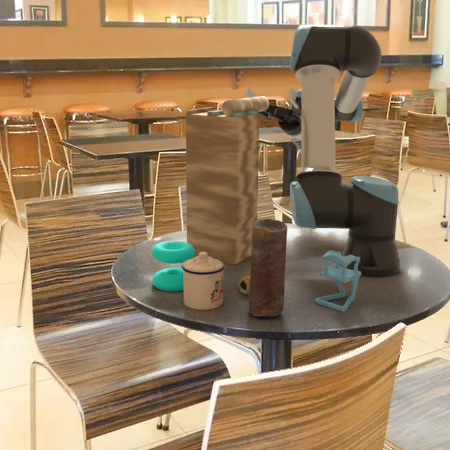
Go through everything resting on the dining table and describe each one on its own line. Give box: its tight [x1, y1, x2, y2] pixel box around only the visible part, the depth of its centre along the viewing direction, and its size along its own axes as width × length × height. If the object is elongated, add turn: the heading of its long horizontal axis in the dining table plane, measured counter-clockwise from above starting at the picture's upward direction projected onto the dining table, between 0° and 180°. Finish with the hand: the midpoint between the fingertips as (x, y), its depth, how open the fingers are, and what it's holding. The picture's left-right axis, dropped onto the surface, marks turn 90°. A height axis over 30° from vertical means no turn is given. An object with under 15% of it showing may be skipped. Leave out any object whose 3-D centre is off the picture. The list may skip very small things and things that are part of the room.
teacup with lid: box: [181, 252, 225, 311], centre depth 145 cm, size 12×9×12 cm
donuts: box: [151, 240, 195, 292], centre depth 154 cm, size 10×10×10 cm
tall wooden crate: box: [185, 106, 260, 265], centre depth 174 cm, size 12×15×39 cm
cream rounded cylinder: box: [221, 95, 270, 117], centre depth 170 cm, size 18×4×4 cm, turn 149°
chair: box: [314, 249, 362, 312], centre depth 144 cm, size 8×8×12 cm
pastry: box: [237, 275, 250, 296], centre depth 152 cm, size 9×7×4 cm
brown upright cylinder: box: [248, 218, 288, 318], centre depth 136 cm, size 8×7×20 cm
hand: (267, 92), depth 181 cm, fingers open, 13 cm apart
